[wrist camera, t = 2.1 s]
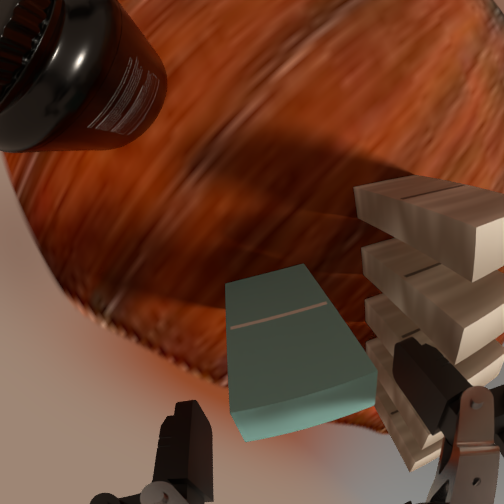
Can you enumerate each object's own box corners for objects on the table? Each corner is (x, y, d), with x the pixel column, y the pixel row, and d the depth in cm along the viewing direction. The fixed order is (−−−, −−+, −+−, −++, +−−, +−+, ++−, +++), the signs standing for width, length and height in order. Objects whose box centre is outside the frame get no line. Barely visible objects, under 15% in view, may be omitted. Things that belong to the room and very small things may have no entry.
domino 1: (225, 283, 17) (229, 412, 8) (303, 263, 18) (377, 370, 8) (233, 310, 18) (245, 442, 9) (308, 291, 18) (374, 405, 9)
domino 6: (365, 375, 22) (415, 462, 12) (412, 355, 22) (470, 428, 12) (364, 389, 22) (409, 472, 13) (410, 369, 22) (462, 441, 13)
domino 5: (365, 341, 20) (428, 435, 11) (416, 321, 20) (488, 396, 11) (365, 359, 21) (421, 450, 11) (414, 339, 21) (479, 413, 11)
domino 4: (364, 299, 19) (445, 393, 9) (419, 279, 19) (507, 350, 10) (365, 321, 20) (436, 417, 10) (418, 301, 20) (497, 375, 10)
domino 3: (360, 247, 18) (463, 328, 8) (419, 230, 18) (526, 287, 8) (363, 274, 18) (454, 365, 9) (419, 256, 18) (517, 321, 9)
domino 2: (353, 186, 16) (476, 227, 7) (415, 174, 16) (536, 203, 7) (357, 218, 17) (472, 282, 7) (417, 203, 17) (532, 247, 8)
